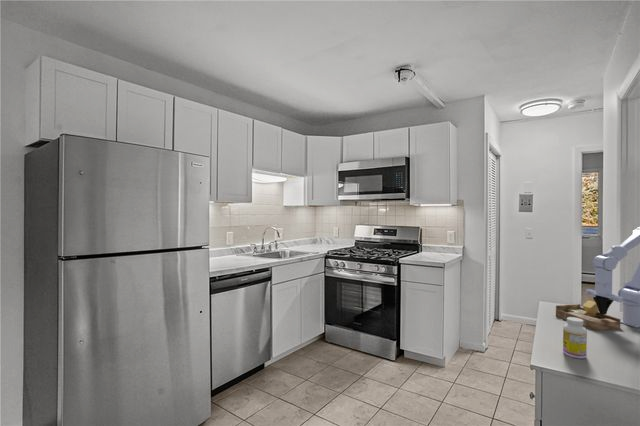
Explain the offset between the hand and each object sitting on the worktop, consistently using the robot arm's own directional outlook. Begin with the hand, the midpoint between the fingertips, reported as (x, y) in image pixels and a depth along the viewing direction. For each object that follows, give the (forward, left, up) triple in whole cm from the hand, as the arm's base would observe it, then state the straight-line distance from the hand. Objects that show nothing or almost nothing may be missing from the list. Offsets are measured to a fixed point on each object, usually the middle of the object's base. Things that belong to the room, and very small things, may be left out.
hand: (602, 313), depth 147 cm
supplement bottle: (+39, +23, -5) cm, 46 cm away
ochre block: (0, -7, 0) cm, 7 cm away
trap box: (+3, -5, -5) cm, 8 cm away
